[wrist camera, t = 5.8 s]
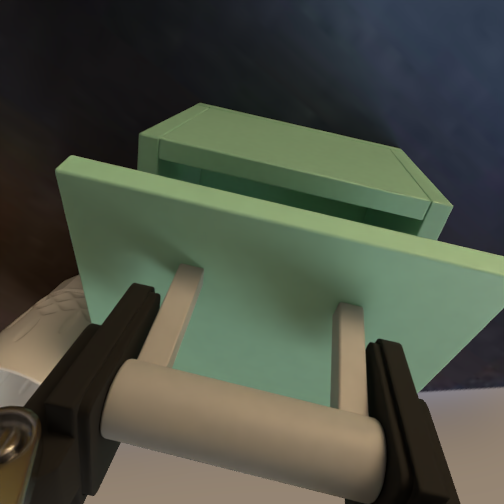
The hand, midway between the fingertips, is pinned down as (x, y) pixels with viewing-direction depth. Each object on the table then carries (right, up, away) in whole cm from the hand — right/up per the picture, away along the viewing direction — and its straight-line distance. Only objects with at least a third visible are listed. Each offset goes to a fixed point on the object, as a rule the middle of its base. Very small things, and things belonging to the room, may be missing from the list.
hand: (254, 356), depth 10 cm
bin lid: (0, -2, +5) cm, 6 cm away
